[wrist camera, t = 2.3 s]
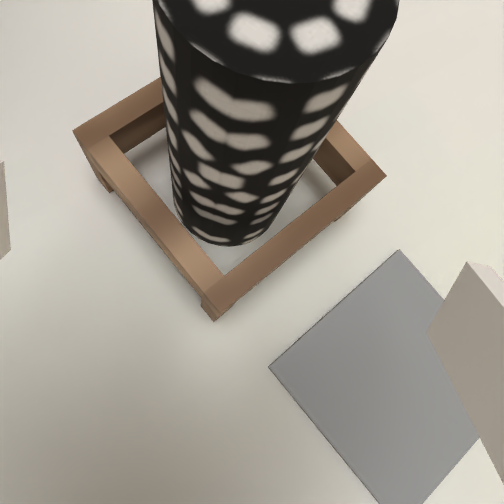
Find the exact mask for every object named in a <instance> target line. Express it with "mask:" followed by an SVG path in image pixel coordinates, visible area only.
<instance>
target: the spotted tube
mask: <svg viewBox="0 0 504 504" xmlns="http://www.w3.org/2000/svg"><path fill="white" fill-rule="evenodd" d="M398 6H399V0H153V10H154V19H155V29H156V38H157V48H158V57H159V66H160V76H161V85H162V95H163V104H164V114H165V123H166V132H167V142H168V151H169V161H170V170H171V180H172V189H173V198H174V205H175V208H176V211H177V214H178V216H179V218H180V219H181V221H182V223H183V224H184V225H185V226H186V228H187V229H188V230H189V231H190V232H191V233H193V234H194V235H195V236H197V237H198V238H200V239H202V240H204V241H206V242H208V243H211V244H215V245H219V246H236V245H242V244H245V243H248V242H251V241H252V240H254V239H256V238H258V237H259V236H260V235H262V234H263V233H264V232H265V231H266V230H267V229H268V228H269V226H270V225H271V224H272V222H273V221H274V219H275V217H276V216H277V214H278V213H279V211H280V209H281V208H282V206H283V205H284V203H285V201H286V200H287V198H288V197H289V195H290V193H291V192H292V190H293V189H294V187H295V185H296V184H297V182H298V181H299V179H300V177H301V176H302V174H303V173H304V171H305V170H306V168H307V166H308V165H309V163H310V162H311V160H312V158H313V157H314V155H315V154H316V152H317V150H318V149H319V147H320V146H321V144H322V142H323V141H324V139H325V138H326V136H327V134H328V133H329V131H330V130H331V128H332V126H333V125H334V123H335V122H336V120H337V118H338V117H339V115H340V114H341V112H342V110H343V109H344V107H345V106H346V104H347V102H348V101H349V99H350V98H351V96H352V95H353V93H354V91H355V90H356V88H357V87H358V85H359V83H360V82H361V80H362V79H363V77H364V75H365V74H366V72H367V71H368V69H369V67H370V66H371V64H372V63H373V61H374V59H375V58H376V56H377V55H378V53H379V51H380V50H381V48H382V47H383V45H384V43H385V42H386V40H387V39H388V37H389V35H390V32H391V30H392V28H393V26H394V23H395V21H396V18H397V12H398Z"/></svg>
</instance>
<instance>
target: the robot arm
mask: <svg viewBox="0 0 504 504" xmlns="http://www.w3.org/2000/svg"><path fill="white" fill-rule="evenodd" d="M10 250H11V248H10V235H9V222H8V209H7V195H6V182H5V169H4V161H0V259H2V258H3V257H4V256H5V255H6V254H7V253H8V252H9V251H10ZM426 332H427V334H428V336H429V338H430V340H431V342H432V344H433V346H434V348H435V350H436V352H437V354H438V356H439V358H440V360H441V362H442V364H443V366H444V368H445V370H446V372H447V374H448V376H449V378H450V380H451V382H452V383H453V385H454V387H455V389H456V391H457V393H458V395H459V397H460V399H461V401H462V403H463V405H464V407H465V409H466V411H467V413H468V415H469V417H470V419H471V421H472V423H473V425H474V427H475V429H476V431H477V433H478V435H479V437H480V439H481V441H482V443H483V445H484V447H485V449H486V451H487V453H488V455H489V457H490V458H491V460H492V462H493V464H494V466H495V468H496V470H497V472H498V474H499V476H500V478H501V480H502V482H503V484H504V281H503V280H502V279H501V278H500V276H499V275H498V274H497V273H496V272H495V271H494V270H493V269H492V267H490V266H485V265H481V264H476V263H471V262H466V264H465V265H464V267H463V269H462V271H461V272H460V274H459V276H458V278H457V279H456V281H455V283H454V284H453V286H452V288H451V290H450V291H449V293H448V295H447V297H446V298H445V300H444V302H443V304H442V305H441V307H440V309H439V311H438V312H437V314H436V316H435V317H434V319H433V321H432V323H431V324H430V326H429V328H428V330H427V331H426Z"/></svg>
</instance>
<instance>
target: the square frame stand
mask: <svg viewBox="0 0 504 504" xmlns="http://www.w3.org/2000/svg"><path fill="white" fill-rule="evenodd" d="M164 127H166V123H165V114H164V104H163V95H162V85H161V77H160V78H158V79H156V80H155V81H153V82H151V83H150V84H148V85H146V86H145V87H143V88H141V89H140V90H138V91H137V92H135V93H133V94H132V95H130V96H128V97H127V98H125V99H123V100H122V101H120V102H118V103H117V104H115V105H113V106H112V107H110V108H109V109H107V110H105V111H104V112H102V113H100V114H99V115H97V116H95V117H94V118H92V119H90V120H89V121H87V122H85V123H84V124H82V125H80V126H79V127H77V128H76V129H74V130H72V131H73V133H74V135H75V137H76V139H77V141H78V142H79V144H80V146H81V148H82V150H83V152H84V154H85V156H86V158H87V160H88V161H89V163H90V165H91V167H92V169H93V171H94V173H95V175H96V177H97V178H98V180H99V181H100V182H101V183H102V184H103V186H104V187H105V188H106V189H107V191H108V192H109V193H110V192H111V191H113V190H114V191H115V192H116V193H117V194H118V196H119V197H120V198H121V199H122V201H123V202H124V203H125V204H126V206H127V207H128V208H129V209H130V211H131V212H132V213H133V214H134V215H135V217H136V218H137V219H138V220H139V222H140V223H141V224H142V225H143V227H144V228H145V229H146V230H147V231H148V233H149V234H150V235H151V236H152V238H153V239H154V240H155V241H156V243H157V244H158V245H159V246H160V247H161V249H162V250H163V251H164V252H165V254H166V255H167V256H168V257H169V259H170V260H171V261H172V262H173V264H174V265H175V266H176V267H177V268H178V270H179V271H180V272H181V273H182V275H183V276H184V277H185V278H186V280H187V281H188V282H189V283H190V284H191V286H192V287H193V288H194V289H195V291H196V292H197V293H198V294H199V296H200V297H201V298H202V303H201V307H202V308H203V309H204V311H205V312H206V313H207V314H208V316H209V317H210V318H211V319H212V320H213V322H214V321H215V320H217V319H218V318H219V317H220V316H222V315H223V314H224V313H225V312H226V311H228V310H229V309H230V308H231V307H232V306H233V304H234V303H235V302H236V301H238V300H239V299H240V298H241V297H242V296H244V295H245V294H246V293H247V292H248V291H250V290H251V289H252V288H253V287H255V286H256V285H257V284H258V283H259V282H261V281H262V280H263V279H264V278H265V277H267V276H268V275H269V274H270V273H271V272H273V271H274V270H275V269H276V268H278V267H279V266H280V265H281V264H282V263H284V262H285V261H286V260H287V259H288V258H290V257H291V256H292V255H293V254H294V253H296V252H297V251H298V250H299V249H301V248H302V247H303V246H304V245H305V244H307V243H308V242H309V241H310V240H311V239H313V238H314V237H315V236H316V235H318V234H319V233H320V232H321V231H322V230H324V229H325V228H326V227H327V226H328V225H330V224H331V223H332V222H333V221H336V220H338V219H339V218H340V217H341V216H342V215H344V214H345V213H346V212H347V211H348V210H350V209H351V208H352V207H353V206H354V205H355V204H356V203H357V202H358V201H360V200H361V199H362V198H363V197H364V196H365V195H366V194H367V193H368V192H369V191H371V190H372V189H373V188H374V187H375V186H376V185H377V184H378V183H379V182H381V181H382V180H383V179H384V178H385V177H386V174H385V173H384V172H383V171H382V170H381V169H380V168H379V167H378V165H377V164H376V163H375V162H374V161H373V160H372V159H371V158H370V157H369V155H368V154H367V153H366V152H365V151H364V150H363V149H362V148H361V146H360V145H359V144H358V143H357V142H356V141H355V140H354V139H353V137H352V136H351V135H350V134H349V133H348V132H347V131H346V130H345V129H344V127H343V126H342V125H341V124H340V123H339V122H338V121H337V120H336V122H335V123H334V125H333V126H332V128H331V130H330V131H329V133H328V134H327V136H326V138H325V139H324V141H323V142H322V144H321V146H320V147H319V149H318V150H317V152H316V154H315V155H314V157H313V159H314V160H315V161H316V162H317V164H318V165H319V166H320V167H321V168H322V169H323V170H324V172H325V173H326V174H327V175H328V176H329V177H330V178H331V180H332V181H333V182H334V183H335V184H336V185H337V187H335V188H334V189H333V190H332V191H330V192H329V193H328V194H327V195H325V196H324V197H323V198H322V199H320V200H319V201H318V202H317V203H315V204H314V205H313V206H312V207H310V208H309V209H308V210H307V211H305V212H304V213H303V214H302V215H300V216H299V217H298V218H297V219H295V220H294V221H293V222H292V223H290V224H289V225H288V226H287V227H285V228H284V229H283V230H281V231H280V232H279V233H278V234H276V235H275V236H274V237H273V238H271V239H270V240H269V241H268V242H266V243H265V244H264V245H263V246H261V247H260V248H259V249H258V250H256V251H255V252H254V253H253V254H251V255H250V256H249V257H248V258H246V259H245V260H244V261H243V262H241V263H240V264H239V265H238V266H236V267H235V268H234V269H233V270H231V271H230V272H229V273H228V274H226V275H225V276H224V275H223V274H222V273H221V272H220V270H219V269H218V268H217V267H216V266H215V264H214V263H213V262H212V261H211V260H210V258H209V257H208V256H207V255H206V253H205V252H204V251H203V250H202V249H201V247H200V246H199V245H198V244H197V243H196V241H195V240H194V239H193V238H192V236H191V235H190V234H189V233H188V232H187V230H186V229H185V228H184V227H183V226H182V224H181V223H180V222H179V221H178V219H177V218H176V217H175V216H174V215H173V213H172V212H171V211H170V210H169V208H168V207H167V206H166V205H165V204H164V202H163V201H162V200H161V199H160V198H159V196H158V195H157V194H156V193H155V191H154V190H153V189H152V188H151V187H150V185H149V184H148V183H147V182H146V181H145V179H144V178H143V177H142V176H141V174H140V173H139V172H138V171H137V170H136V168H135V167H134V166H133V165H132V164H131V162H130V161H129V160H128V159H127V157H126V156H125V155H124V153H126V152H127V151H129V150H130V149H132V148H134V147H135V146H137V145H138V144H140V143H141V142H143V141H144V140H146V139H147V138H149V137H151V136H152V135H154V134H155V133H157V132H158V131H160V130H161V129H163V128H164Z"/></svg>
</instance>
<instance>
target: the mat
mask: <svg viewBox="0 0 504 504" xmlns="http://www.w3.org/2000/svg"><path fill="white" fill-rule="evenodd" d="M443 302H444V299H443V298H442V297H441V296H440V295H439V294H438V293H437V291H436V290H435V289H434V288H433V287H432V286H431V285H430V283H429V282H428V281H427V280H426V279H425V278H424V277H423V275H422V274H421V273H420V272H419V271H418V270H417V269H416V267H415V266H414V265H413V264H412V263H411V262H410V261H409V260H408V258H407V257H406V256H405V255H404V254H403V253H402V252H401V250H400V249H399V250H397V251H396V252H395V253H394V254H393V255H392V256H391V257H390V258H388V259H387V260H386V261H385V262H384V263H383V264H382V265H381V266H380V267H378V268H377V269H376V270H375V271H374V272H373V273H372V274H371V275H370V276H369V277H367V278H366V279H365V280H364V281H363V282H362V283H361V284H360V285H359V286H357V287H356V288H355V289H354V290H353V291H352V292H351V293H350V294H349V295H347V296H346V297H345V298H344V299H343V300H342V301H341V302H340V303H339V304H337V305H336V306H335V307H334V308H333V309H332V310H331V311H330V312H329V313H327V314H326V315H325V316H324V317H323V318H322V319H321V320H320V321H319V322H317V323H316V324H315V325H314V326H313V327H312V328H311V329H310V330H309V331H307V332H306V333H305V334H304V335H303V336H302V337H301V338H300V339H299V340H297V341H296V342H295V343H294V344H293V345H292V346H291V347H290V348H289V349H288V350H286V351H285V352H284V353H283V354H282V355H281V356H280V357H279V358H278V359H276V360H275V361H274V362H273V363H272V364H271V365H270V366H269V369H270V370H271V371H272V372H273V374H274V375H275V376H276V377H277V378H278V380H279V381H280V382H281V383H282V385H283V386H284V387H285V388H286V390H287V391H288V392H289V393H290V394H291V396H292V397H293V398H294V399H295V401H296V402H297V403H298V404H299V406H300V407H301V408H302V409H303V410H304V412H305V413H306V414H307V415H308V417H309V418H310V419H311V420H312V421H313V423H314V424H315V425H316V426H317V428H318V429H319V430H320V431H321V433H322V434H323V435H324V436H325V437H326V439H327V440H328V441H329V442H330V444H331V445H332V446H333V447H334V448H335V450H336V451H337V452H338V453H339V455H340V456H341V457H342V458H343V460H344V461H345V462H346V463H347V464H348V466H349V467H350V468H351V469H352V471H353V472H354V473H355V474H356V476H357V477H358V478H359V479H360V480H361V482H362V483H363V484H364V485H365V487H366V488H367V489H368V490H369V491H370V493H371V494H372V495H373V496H374V498H375V499H376V500H377V501H378V503H379V504H423V503H424V501H425V500H426V499H427V498H428V497H429V496H430V495H431V493H432V492H433V491H434V490H435V489H436V488H437V486H438V485H439V484H440V483H441V482H442V481H443V479H444V478H445V477H446V476H447V475H448V474H449V472H450V471H451V470H452V469H453V468H454V467H455V465H456V464H457V463H458V462H459V461H460V460H461V458H462V457H463V456H464V455H465V454H466V453H467V451H468V450H469V449H470V448H471V447H472V446H473V444H474V443H475V442H476V441H477V440H478V439H479V438H480V437H479V435H478V433H477V431H476V429H475V427H474V425H473V423H472V421H471V419H470V417H469V415H468V413H467V411H466V409H465V407H464V405H463V403H462V401H461V399H460V397H459V395H458V393H457V391H456V389H455V387H454V385H453V383H452V382H451V380H450V378H449V376H448V374H447V372H446V370H445V368H444V366H443V364H442V362H441V360H440V358H439V356H438V354H437V352H436V350H435V348H434V346H433V344H432V342H431V340H430V338H429V336H428V334H427V332H426V331H427V330H428V328H429V326H430V324H431V323H432V321H433V319H434V317H435V316H436V314H437V312H438V311H439V309H440V307H441V305H442V304H443Z"/></svg>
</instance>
